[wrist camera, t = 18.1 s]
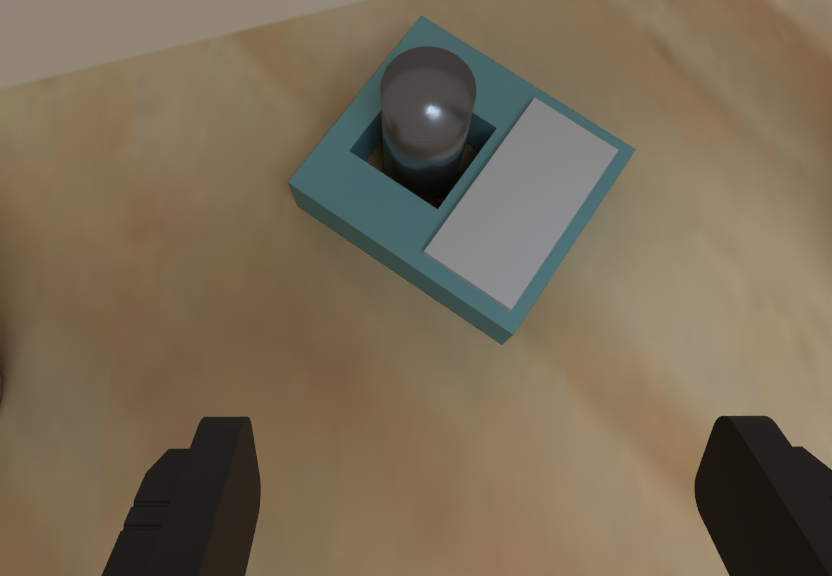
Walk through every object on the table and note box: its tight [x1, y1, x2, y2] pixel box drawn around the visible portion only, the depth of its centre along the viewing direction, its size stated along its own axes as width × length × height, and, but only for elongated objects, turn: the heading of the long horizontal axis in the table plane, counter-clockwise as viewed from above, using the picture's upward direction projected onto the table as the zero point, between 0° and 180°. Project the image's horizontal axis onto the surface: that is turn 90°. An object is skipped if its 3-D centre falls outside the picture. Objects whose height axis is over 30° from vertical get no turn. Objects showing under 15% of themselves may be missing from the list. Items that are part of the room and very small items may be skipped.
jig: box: [288, 16, 636, 345], centre depth 41 cm, size 16×14×5 cm
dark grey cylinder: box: [380, 46, 476, 203], centre depth 38 cm, size 5×5×10 cm
